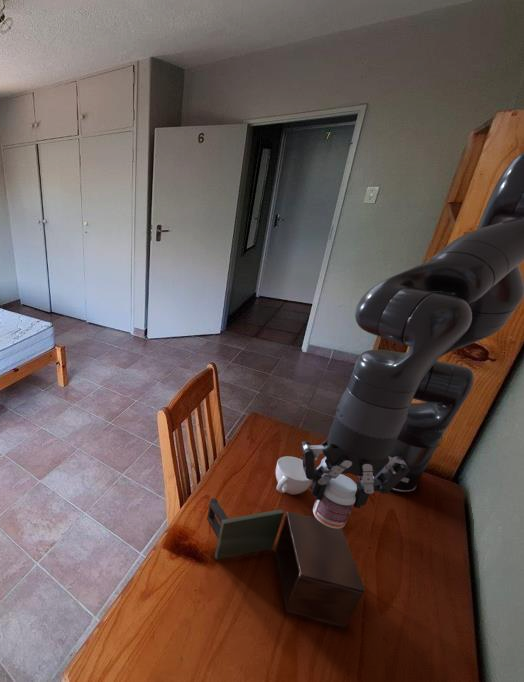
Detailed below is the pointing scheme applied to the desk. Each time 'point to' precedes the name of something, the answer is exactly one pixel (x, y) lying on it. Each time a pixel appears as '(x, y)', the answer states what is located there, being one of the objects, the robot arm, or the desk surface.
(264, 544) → the cupboard door
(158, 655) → the desk surface
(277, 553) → the cupboard
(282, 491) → the cup
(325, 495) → the pill bottle
